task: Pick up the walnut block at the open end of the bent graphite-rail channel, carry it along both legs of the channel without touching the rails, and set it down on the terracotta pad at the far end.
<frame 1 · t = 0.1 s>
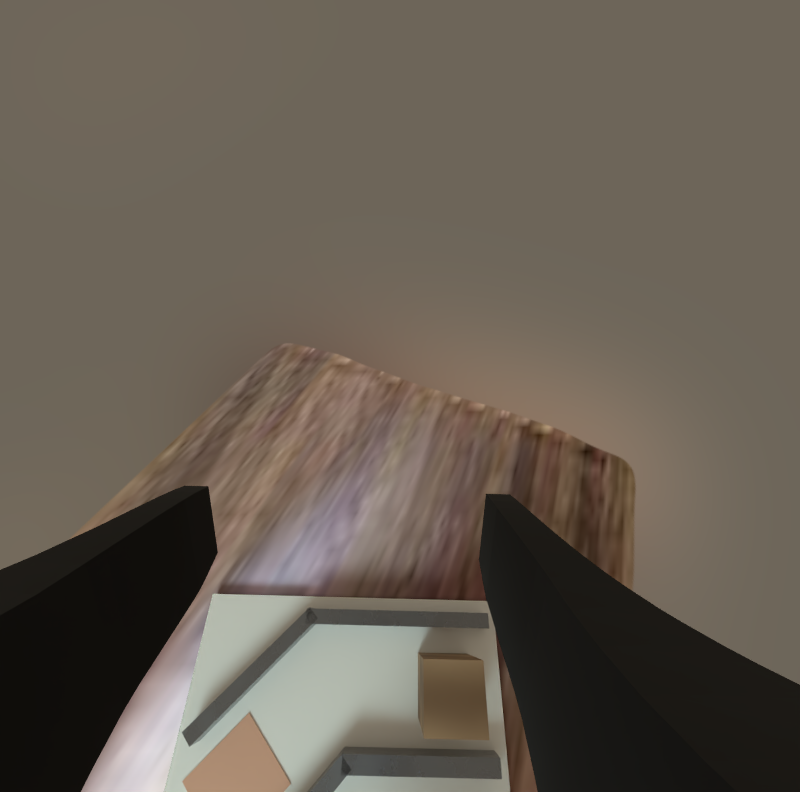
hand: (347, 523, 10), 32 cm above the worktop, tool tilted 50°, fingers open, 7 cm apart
rails: (342, 724, 31), on the channel board, point 1 cm above the worktop
walnut block: (443, 684, 33), point 1 cm above the worktop, touching channel board
channel board: (344, 717, 32), on the worktop
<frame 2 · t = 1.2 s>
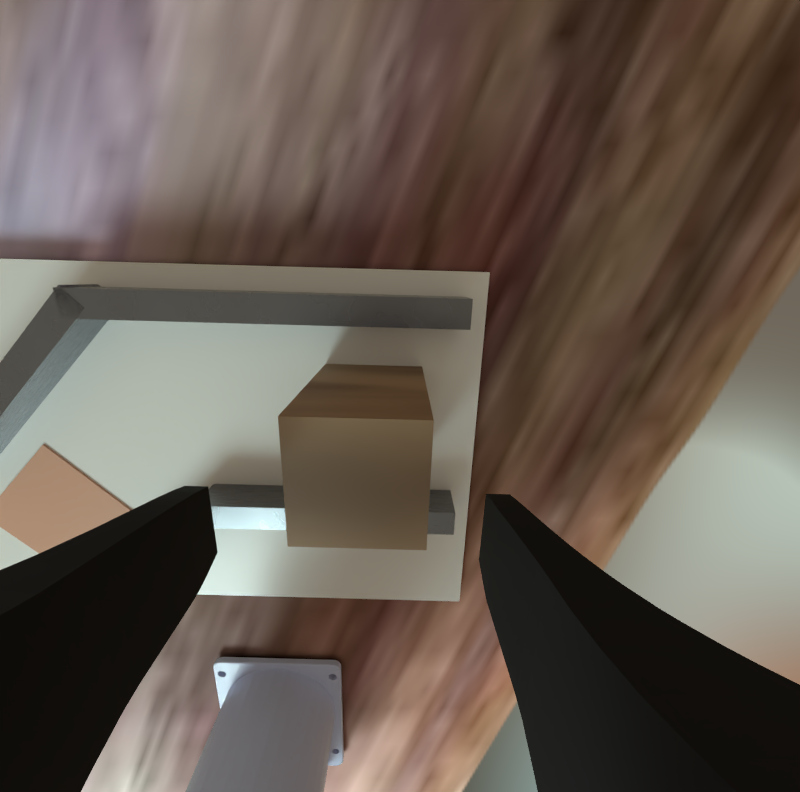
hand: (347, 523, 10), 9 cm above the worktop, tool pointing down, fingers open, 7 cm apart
rails: (195, 465, 18), on the channel board, point 1 cm above the worktop
walnut block: (373, 410, 18), point 1 cm above the worktop, touching channel board
channel board: (210, 447, 19), on the worktop
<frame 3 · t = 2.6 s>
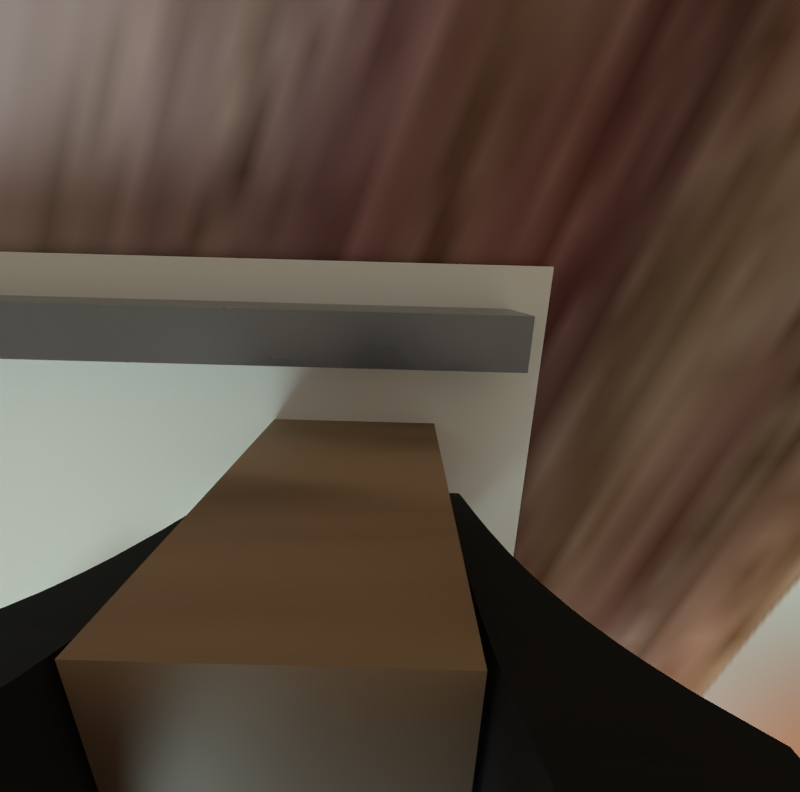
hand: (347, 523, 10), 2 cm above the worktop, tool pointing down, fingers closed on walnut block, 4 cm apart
rails: (65, 581, 11), on the channel board, point 1 cm above the worktop
walnut block: (355, 491, 11), point 1 cm above the worktop, touching channel board, gripper
channel board: (104, 540, 13), on the worktop
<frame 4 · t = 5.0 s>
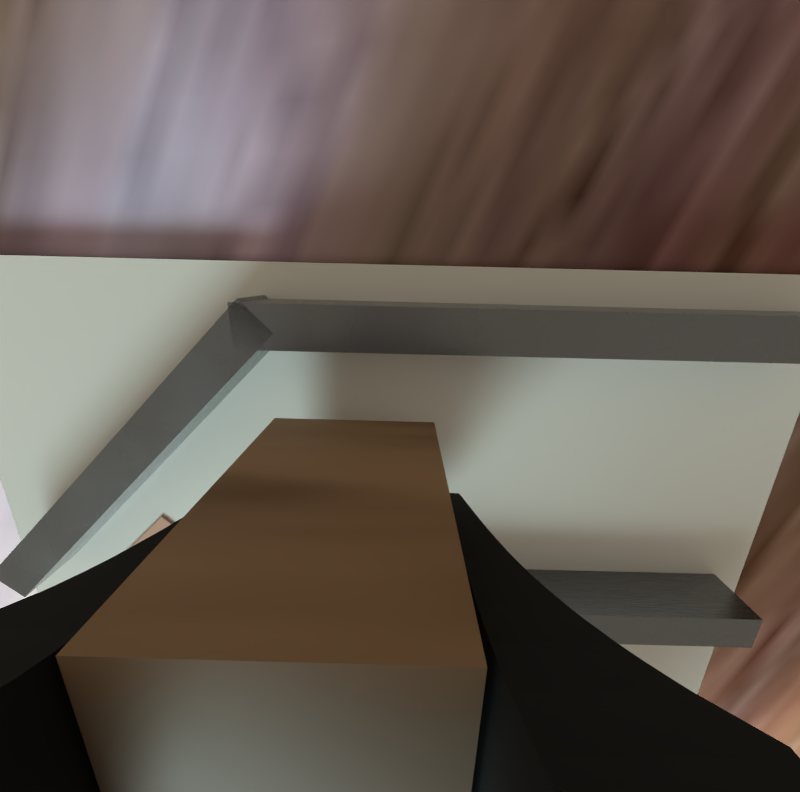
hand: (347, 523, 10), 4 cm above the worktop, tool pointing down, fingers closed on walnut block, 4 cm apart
rails: (383, 549, 13), on the channel board, point 1 cm above the worktop
walnut block: (355, 490, 11), point 2 cm above the worktop, touching gripper
channel board: (384, 516, 14), on the worktop
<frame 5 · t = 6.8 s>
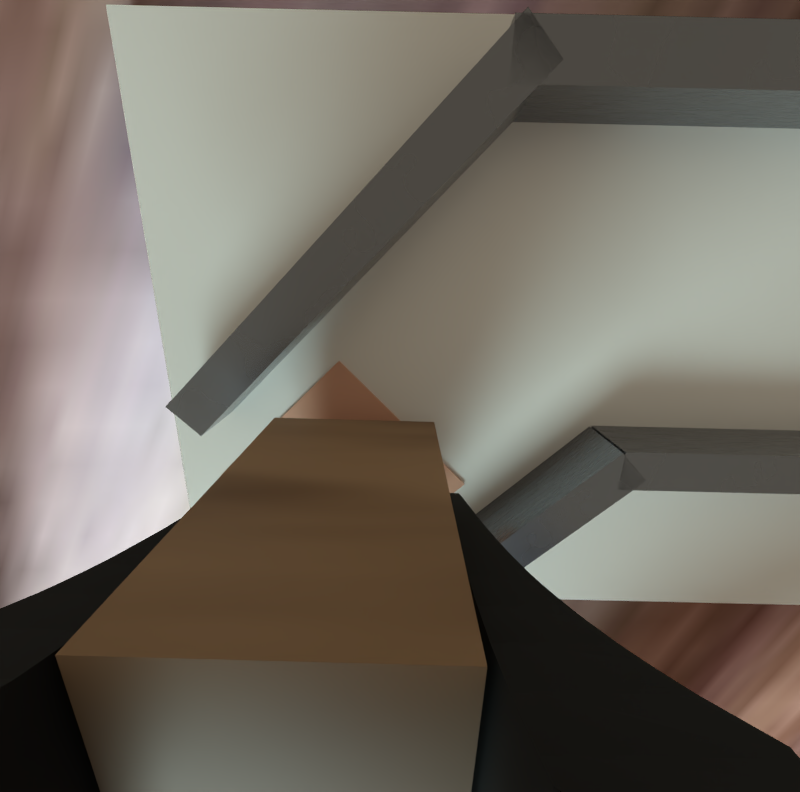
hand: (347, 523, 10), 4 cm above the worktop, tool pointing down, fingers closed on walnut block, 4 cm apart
rails: (608, 388, 11), on the channel board, point 1 cm above the worktop
walnut block: (355, 489, 11), point 2 cm above the worktop, touching gripper
channel board: (583, 369, 12), on the worktop
when the fingers open (3 cm above the worktop, at t = 7.9 s): walnut block drops 1 cm, resting on channel board.
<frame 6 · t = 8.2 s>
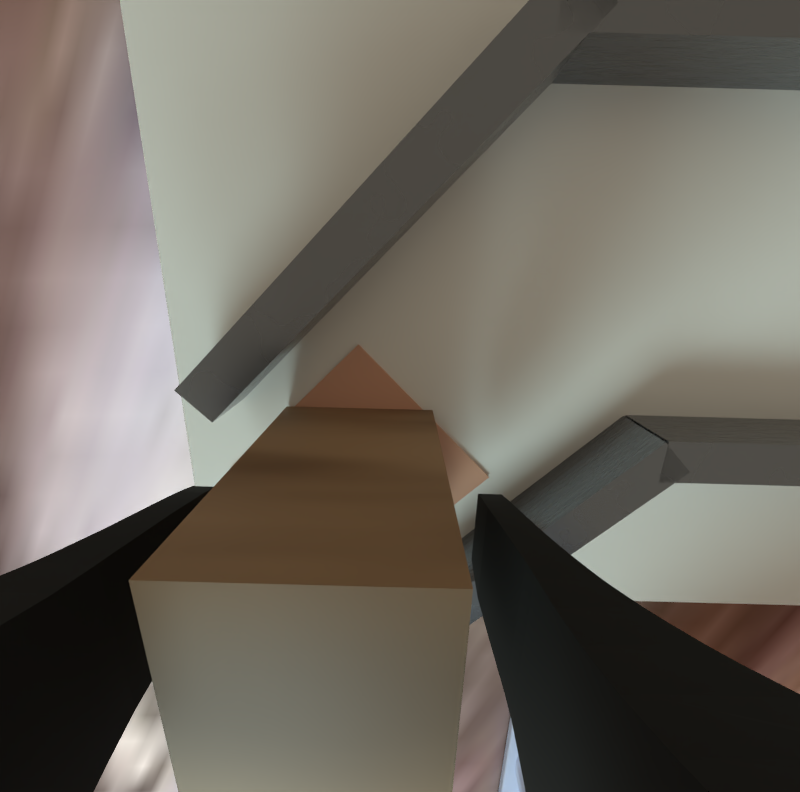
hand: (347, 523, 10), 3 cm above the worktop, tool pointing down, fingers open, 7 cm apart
rails: (648, 373, 10), on the channel board, point 1 cm above the worktop
walnut block: (360, 473, 12), point 1 cm above the worktop, touching channel board
channel board: (616, 355, 12), on the worktop
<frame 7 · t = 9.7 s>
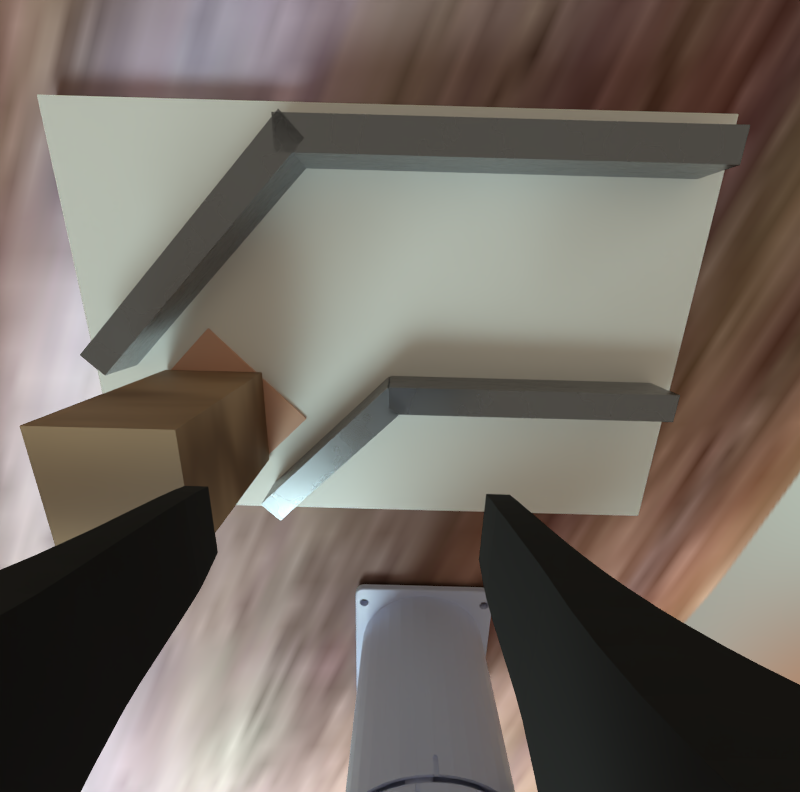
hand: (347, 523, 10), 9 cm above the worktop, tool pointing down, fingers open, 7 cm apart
rails: (384, 346, 16), on the channel board, point 1 cm above the worktop
walnut block: (219, 416, 18), point 1 cm above the worktop, touching channel board
channel board: (385, 336, 18), on the worktop
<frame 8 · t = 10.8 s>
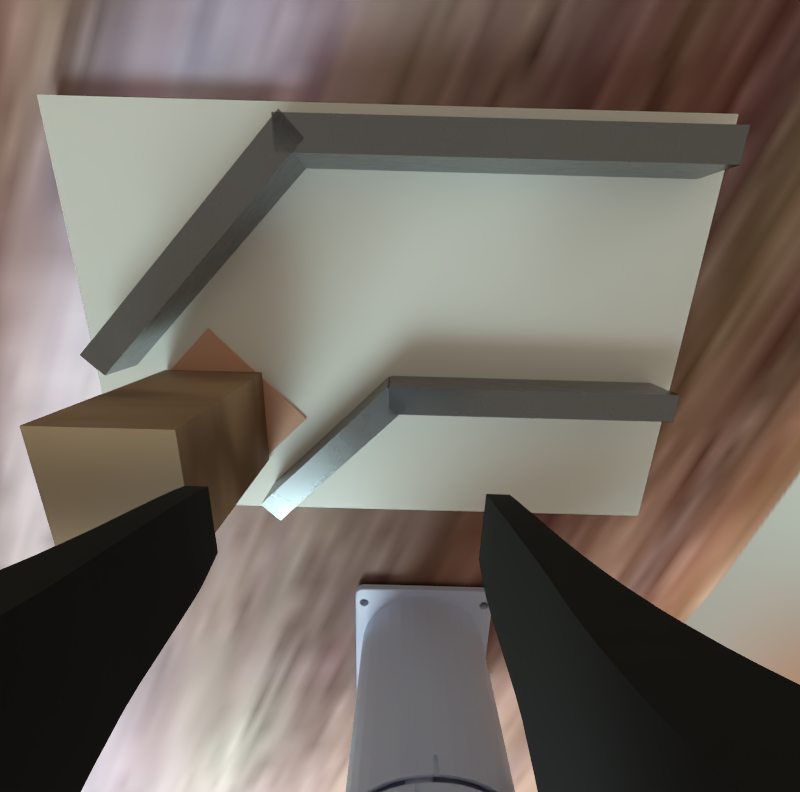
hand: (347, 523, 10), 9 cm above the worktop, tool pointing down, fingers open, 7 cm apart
rails: (384, 346, 16), on the channel board, point 1 cm above the worktop
walnut block: (219, 416, 18), point 1 cm above the worktop, touching channel board
channel board: (385, 336, 18), on the worktop
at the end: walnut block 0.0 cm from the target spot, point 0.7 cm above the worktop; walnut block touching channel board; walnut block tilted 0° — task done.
